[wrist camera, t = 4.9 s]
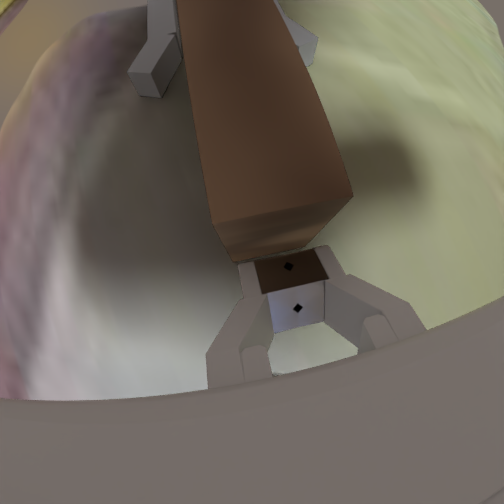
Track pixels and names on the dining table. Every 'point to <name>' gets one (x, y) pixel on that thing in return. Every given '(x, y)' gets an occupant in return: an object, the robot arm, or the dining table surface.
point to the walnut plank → (258, 128)
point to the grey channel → (170, 50)
